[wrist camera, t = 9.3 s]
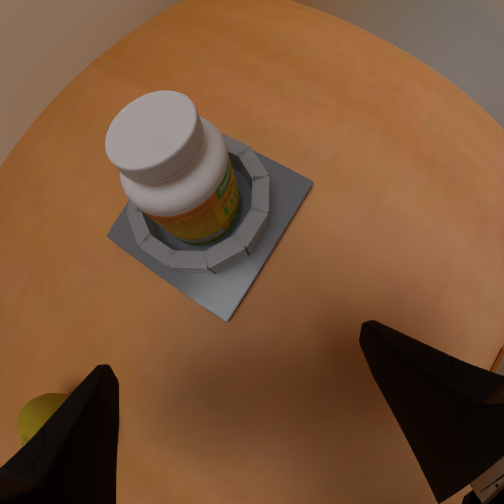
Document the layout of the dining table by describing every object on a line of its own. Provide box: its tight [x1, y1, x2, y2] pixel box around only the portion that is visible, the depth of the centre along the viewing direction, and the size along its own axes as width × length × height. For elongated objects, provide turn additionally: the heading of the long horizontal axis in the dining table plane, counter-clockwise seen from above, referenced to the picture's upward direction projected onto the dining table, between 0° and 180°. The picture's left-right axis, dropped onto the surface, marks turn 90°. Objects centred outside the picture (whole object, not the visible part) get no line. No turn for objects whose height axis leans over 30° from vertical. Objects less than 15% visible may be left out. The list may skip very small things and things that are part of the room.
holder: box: [107, 133, 313, 322], centre depth 18 cm, size 11×11×3 cm
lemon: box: [17, 393, 69, 446], centre depth 13 cm, size 6×6×8 cm
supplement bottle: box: [105, 91, 241, 246], centre depth 14 cm, size 5×5×10 cm
